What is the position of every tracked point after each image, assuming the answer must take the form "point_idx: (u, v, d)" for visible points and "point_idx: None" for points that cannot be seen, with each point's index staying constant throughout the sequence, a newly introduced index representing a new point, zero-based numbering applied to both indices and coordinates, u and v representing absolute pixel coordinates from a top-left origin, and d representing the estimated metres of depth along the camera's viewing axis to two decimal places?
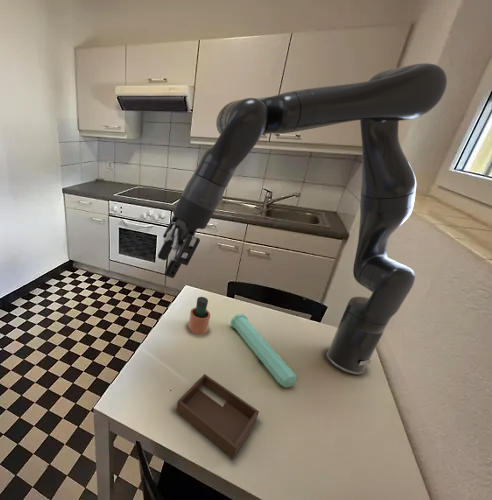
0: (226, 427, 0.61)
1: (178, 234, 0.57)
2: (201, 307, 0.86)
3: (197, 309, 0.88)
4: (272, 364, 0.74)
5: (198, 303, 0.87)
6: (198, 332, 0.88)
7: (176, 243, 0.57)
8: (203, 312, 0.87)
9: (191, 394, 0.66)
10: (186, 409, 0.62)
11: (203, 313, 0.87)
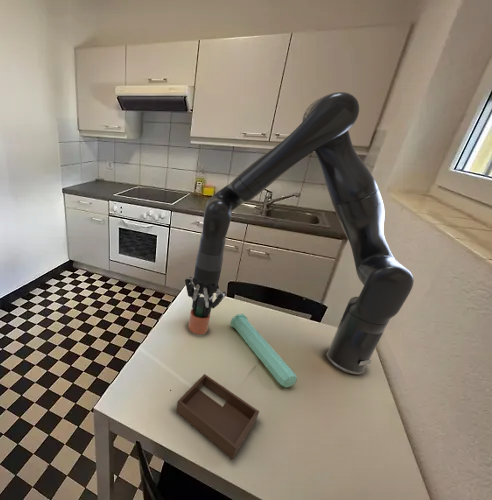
0: (226, 427, 0.61)
1: (207, 292, 0.83)
2: (201, 307, 0.86)
3: (197, 309, 0.88)
4: (272, 364, 0.74)
5: (198, 303, 0.87)
6: (198, 332, 0.88)
7: (207, 298, 0.84)
8: (203, 312, 0.87)
9: (191, 394, 0.66)
10: (186, 409, 0.62)
11: None
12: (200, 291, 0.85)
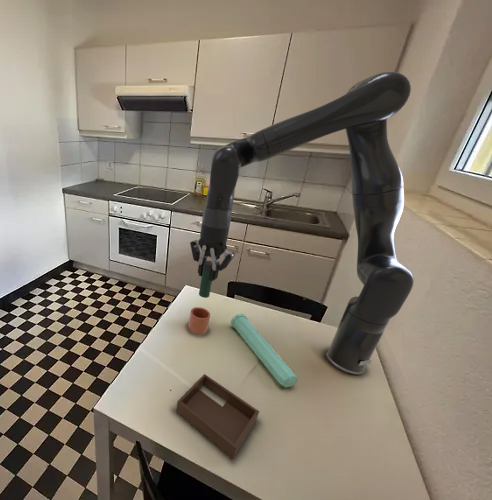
0: (226, 427, 0.61)
1: (215, 252, 0.77)
2: (208, 271, 0.81)
3: (203, 273, 0.82)
4: (272, 364, 0.74)
5: (204, 266, 0.81)
6: (198, 332, 0.88)
7: (215, 259, 0.78)
8: None
9: (191, 394, 0.66)
10: (186, 409, 0.62)
11: None
12: (207, 253, 0.80)
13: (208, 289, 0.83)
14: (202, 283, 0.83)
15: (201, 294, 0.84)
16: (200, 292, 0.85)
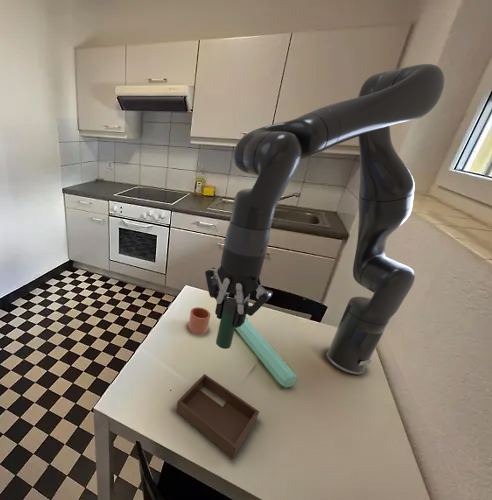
0: (226, 427, 0.61)
1: (242, 290, 0.53)
2: (231, 314, 0.56)
3: (224, 316, 0.58)
4: (272, 364, 0.74)
5: (226, 307, 0.57)
6: (198, 332, 0.88)
7: (242, 299, 0.54)
8: (233, 320, 0.57)
9: (191, 394, 0.66)
10: (186, 409, 0.62)
11: (233, 322, 0.57)
12: (230, 289, 0.55)
13: (230, 338, 0.59)
14: (222, 330, 0.59)
15: (220, 343, 0.60)
16: (218, 341, 0.60)
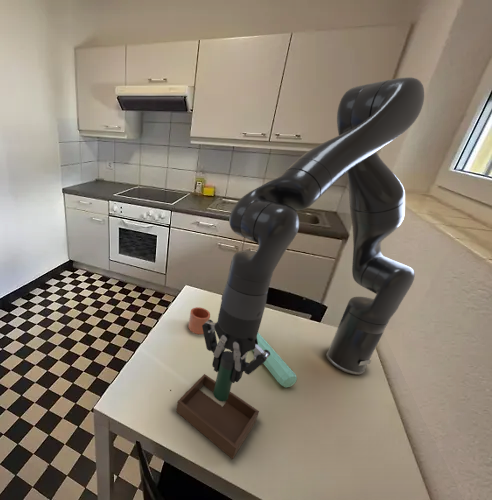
0: (226, 427, 0.61)
1: (240, 349, 0.53)
2: (228, 370, 0.56)
3: (221, 371, 0.57)
4: (272, 364, 0.74)
5: (223, 363, 0.56)
6: (198, 332, 0.88)
7: (239, 357, 0.53)
8: (231, 375, 0.57)
9: (191, 394, 0.66)
10: (186, 409, 0.62)
11: (230, 377, 0.57)
12: (227, 345, 0.55)
13: (227, 391, 0.58)
14: (219, 383, 0.58)
15: (218, 396, 0.59)
16: (215, 393, 0.60)
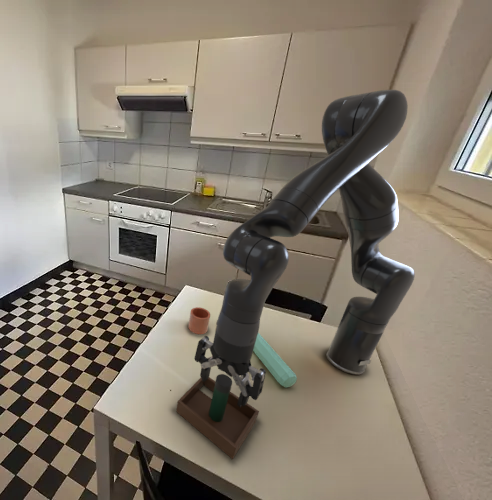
0: (226, 427, 0.61)
1: (235, 371, 0.55)
2: (222, 393, 0.58)
3: (216, 393, 0.60)
4: (272, 364, 0.74)
5: (218, 386, 0.59)
6: (198, 332, 0.88)
7: (240, 380, 0.54)
8: (225, 398, 0.59)
9: (191, 394, 0.66)
10: (186, 409, 0.62)
11: (225, 400, 0.59)
12: (222, 367, 0.57)
13: (222, 412, 0.61)
14: (214, 405, 0.61)
15: (213, 417, 0.62)
16: (211, 414, 0.62)
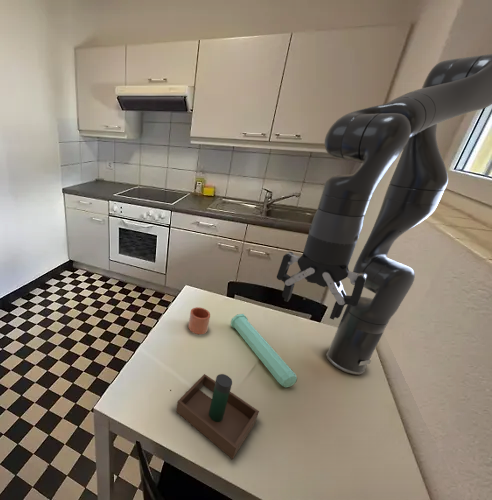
0: (226, 427, 0.61)
1: (332, 278, 0.52)
2: (222, 393, 0.58)
3: (216, 393, 0.60)
4: (272, 364, 0.74)
5: (218, 386, 0.59)
6: (198, 332, 0.88)
7: (337, 287, 0.51)
8: (225, 398, 0.59)
9: (191, 394, 0.66)
10: (186, 409, 0.62)
11: (225, 400, 0.59)
12: (313, 279, 0.54)
13: (222, 412, 0.61)
14: (214, 405, 0.61)
15: (213, 417, 0.62)
16: (211, 414, 0.62)
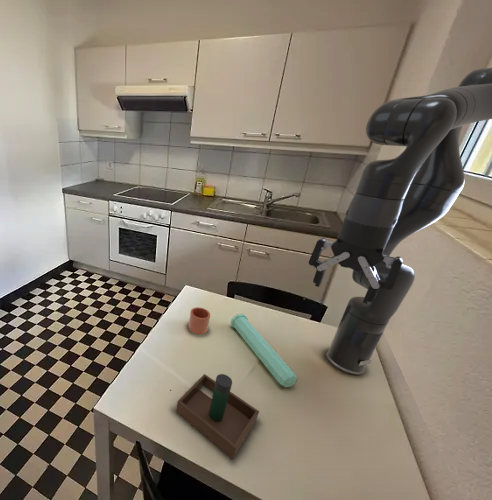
0: (226, 427, 0.61)
1: (367, 262, 0.53)
2: (222, 393, 0.58)
3: (216, 393, 0.60)
4: (272, 364, 0.74)
5: (218, 386, 0.59)
6: (198, 332, 0.88)
7: (372, 271, 0.53)
8: (225, 398, 0.59)
9: (191, 394, 0.66)
10: (186, 409, 0.62)
11: (225, 400, 0.59)
12: (347, 263, 0.55)
13: (222, 412, 0.61)
14: (214, 405, 0.61)
15: (213, 417, 0.62)
16: (211, 414, 0.62)
